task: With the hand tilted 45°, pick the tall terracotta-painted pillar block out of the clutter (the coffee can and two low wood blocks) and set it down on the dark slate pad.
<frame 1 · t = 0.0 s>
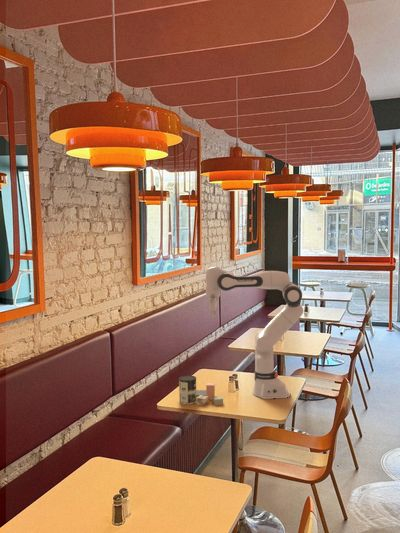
hand: (213, 315, 300), 48 cm above the table, tool pointing down, fingers open, 8 cm apart
coffee can: (187, 401, 290), on the table
pillar: (210, 398, 294), on the table
pad: (202, 393, 302), on the table
oak block: (202, 403, 286), on the table
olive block: (218, 403, 286), on the table
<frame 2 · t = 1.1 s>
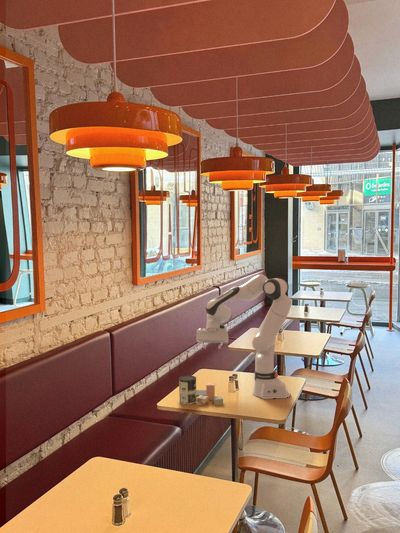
hand: (211, 348, 303), 28 cm above the table, tool tilted 45°, fingers open, 8 cm apart
nothing on the table moved.
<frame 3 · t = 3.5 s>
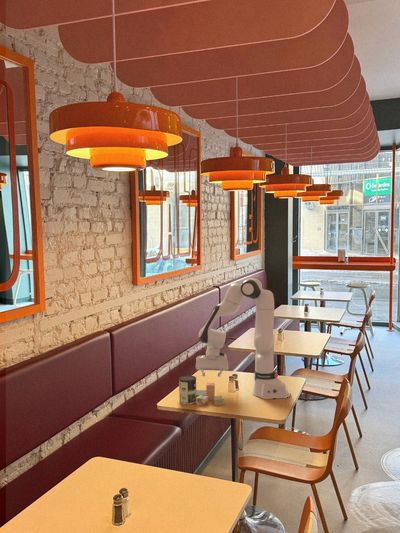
hand: (211, 376, 300), 11 cm above the table, tool tilted 45°, fingers open, 8 cm apart
nothing on the table moved.
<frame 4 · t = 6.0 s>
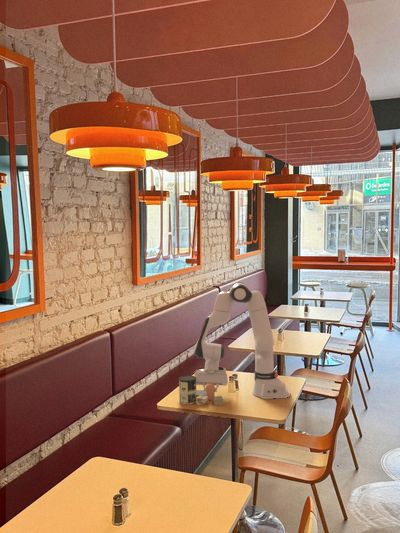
hand: (210, 391, 293), 5 cm above the table, tool tilted 45°, fingers closed on pillar, 4 cm apart
pillar: (210, 398, 294), on the table, touching gripper
everything else where it was.
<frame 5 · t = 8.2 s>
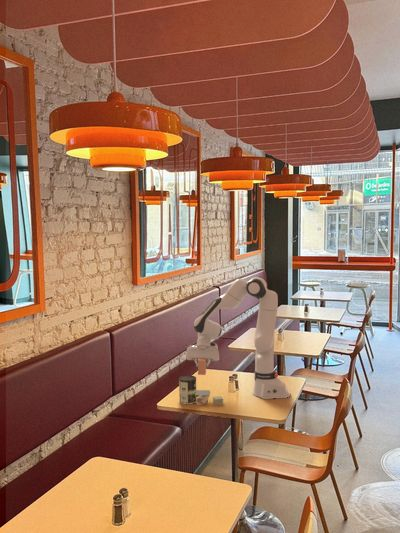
hand: (202, 366, 299), 18 cm above the table, tool tilted 45°, fingers closed on pillar, 4 cm apart
pillar: (202, 373, 300), point 13 cm above the table, touching gripper
everything else where it was.
when the fingers open (7 cm above the table, at t = 10.7 s): pillar drops 1 cm, resting on pad.
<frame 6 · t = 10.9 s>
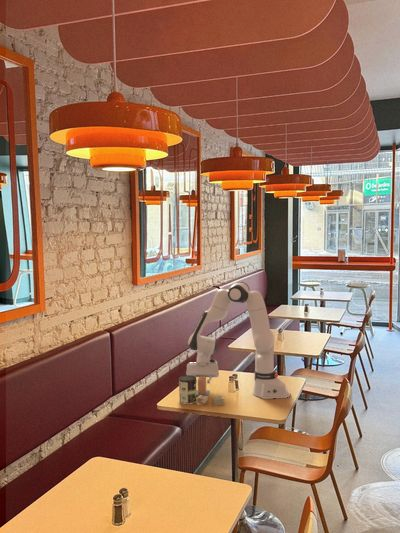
hand: (201, 382, 301), 7 cm above the table, tool tilted 45°, fingers open, 7 cm apart
pillar: (202, 392, 302), point 1 cm above the table, touching pad
everything else where it was.
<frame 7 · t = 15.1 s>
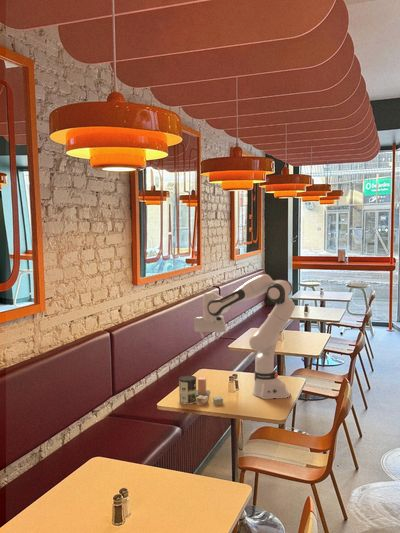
hand: (210, 338, 314), 31 cm above the table, tool pointing down, fingers open, 8 cm apart
nothing on the table moved.
at the end: pillar inside the target area on the pad (0.1 cm from its centre), point 0.8 cm above the pad's base; pillar tilted 0°; the gripper is holding nothing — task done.
